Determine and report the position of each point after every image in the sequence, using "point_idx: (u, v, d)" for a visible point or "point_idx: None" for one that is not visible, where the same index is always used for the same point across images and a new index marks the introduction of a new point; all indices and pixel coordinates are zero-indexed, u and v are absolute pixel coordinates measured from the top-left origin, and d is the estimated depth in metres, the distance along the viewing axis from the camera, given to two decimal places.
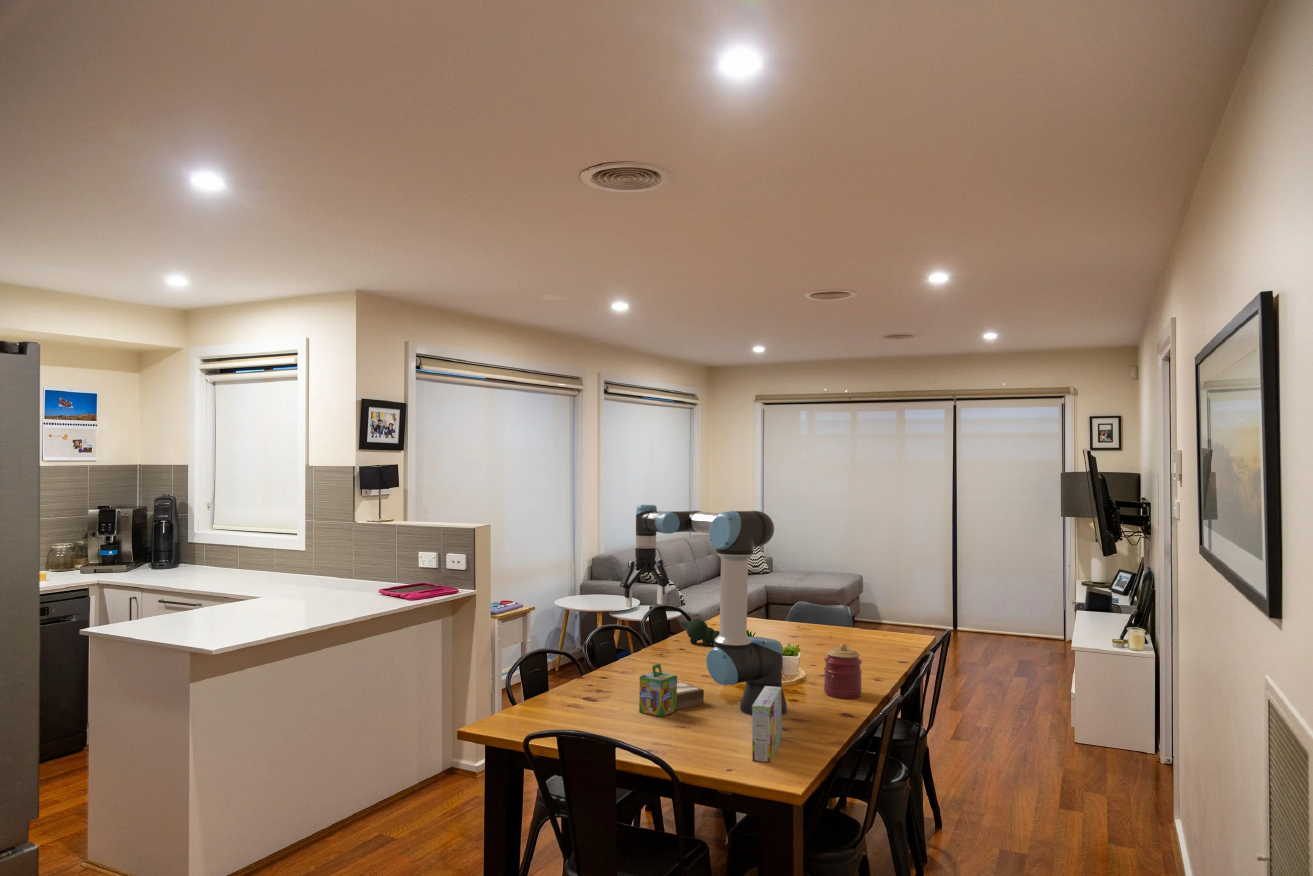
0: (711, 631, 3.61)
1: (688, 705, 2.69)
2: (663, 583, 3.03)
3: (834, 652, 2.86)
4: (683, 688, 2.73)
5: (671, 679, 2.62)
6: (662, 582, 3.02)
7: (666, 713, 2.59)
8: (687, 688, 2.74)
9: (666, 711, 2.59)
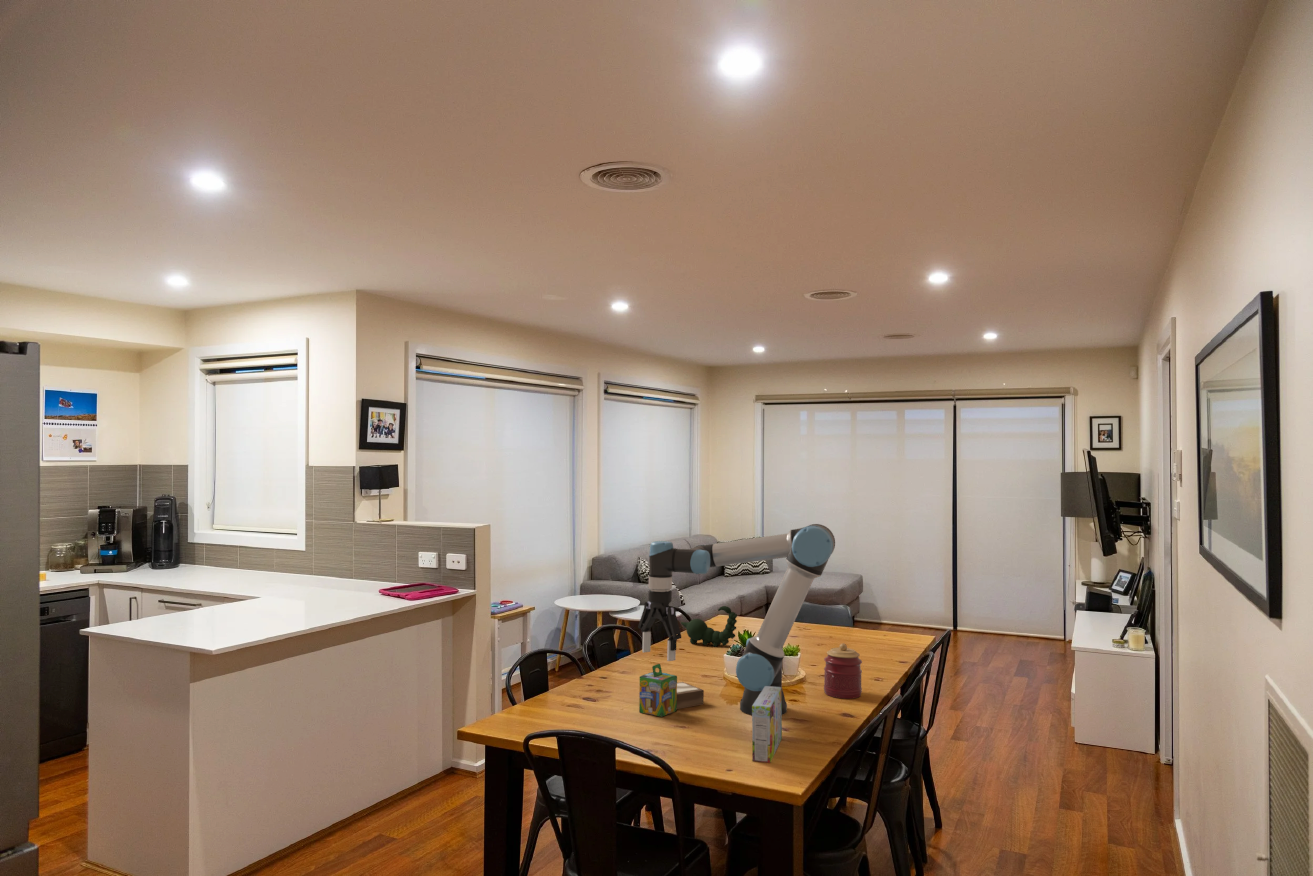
0: (711, 631, 3.61)
1: (687, 705, 2.69)
2: (669, 636, 2.57)
3: (834, 652, 2.86)
4: (683, 688, 2.73)
5: (671, 679, 2.62)
6: (669, 635, 2.58)
7: (666, 713, 2.59)
8: (687, 688, 2.73)
9: (666, 711, 2.59)
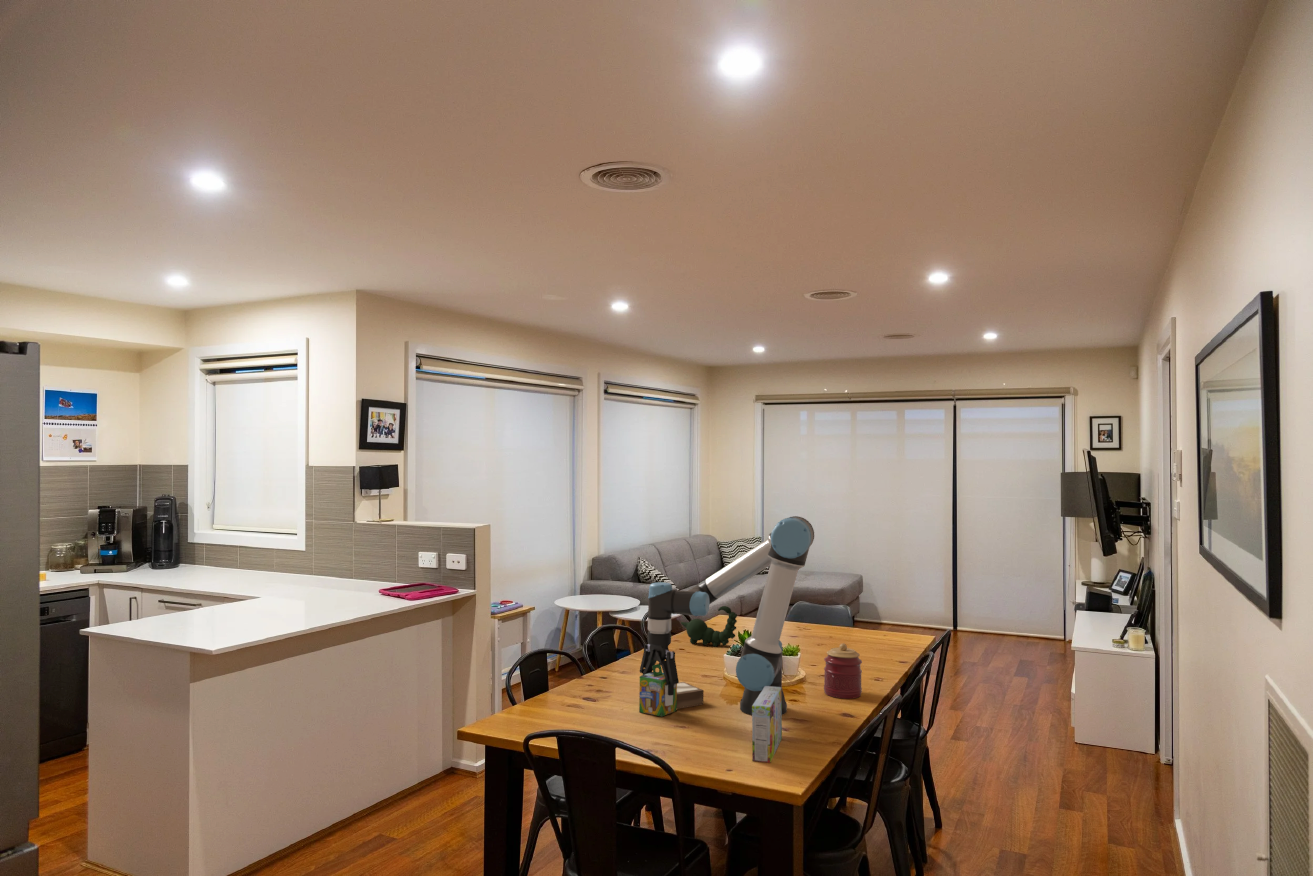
0: (711, 631, 3.61)
1: (687, 705, 2.69)
2: (667, 681, 2.58)
3: (834, 652, 2.86)
4: (683, 688, 2.73)
5: None
6: (666, 679, 2.58)
7: (666, 713, 2.59)
8: (687, 688, 2.73)
9: (666, 711, 2.59)
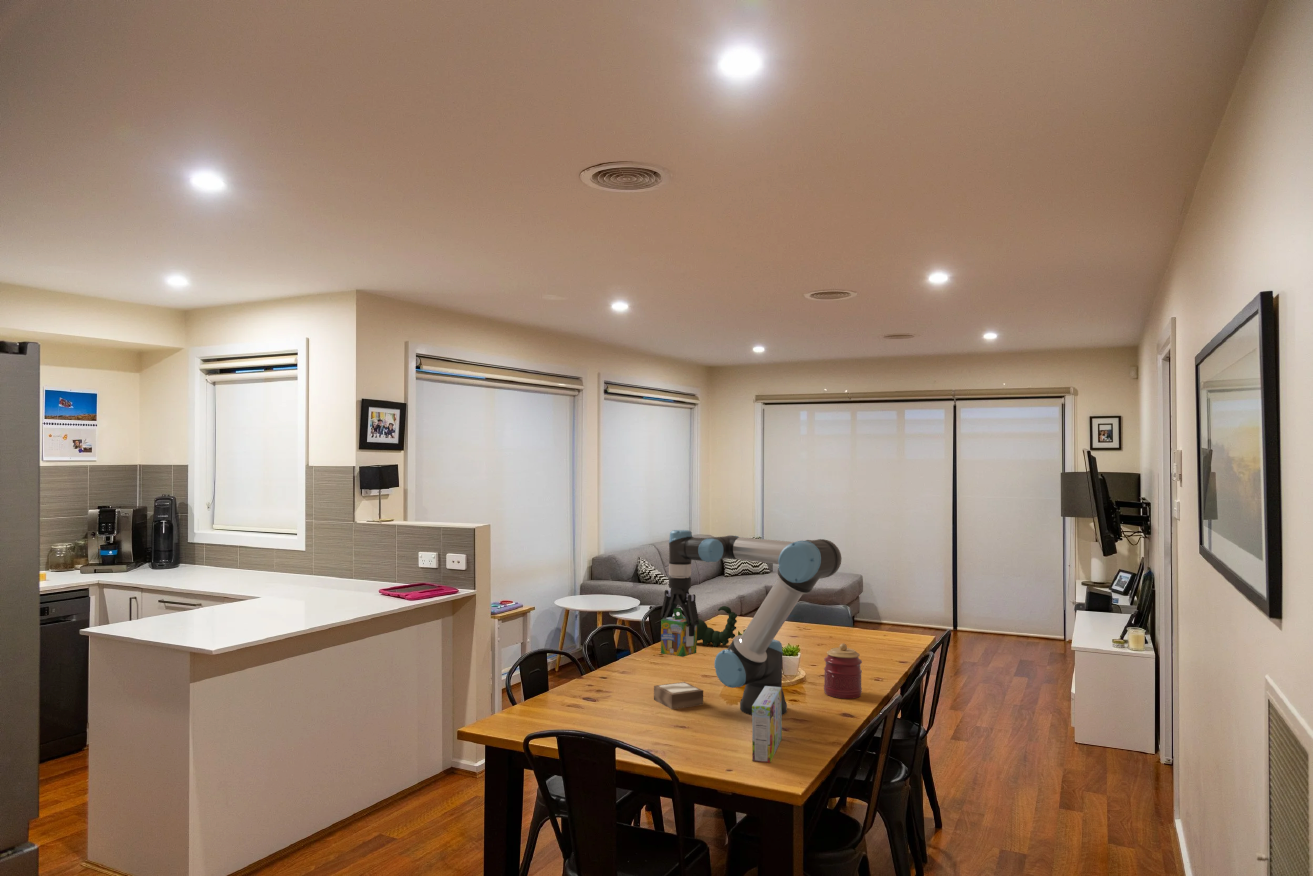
0: (711, 631, 3.61)
1: (686, 705, 2.69)
2: (688, 623, 2.69)
3: (834, 652, 2.86)
4: (683, 688, 2.73)
5: None
6: (687, 621, 2.69)
7: (687, 654, 2.70)
8: (687, 688, 2.73)
9: (687, 652, 2.70)
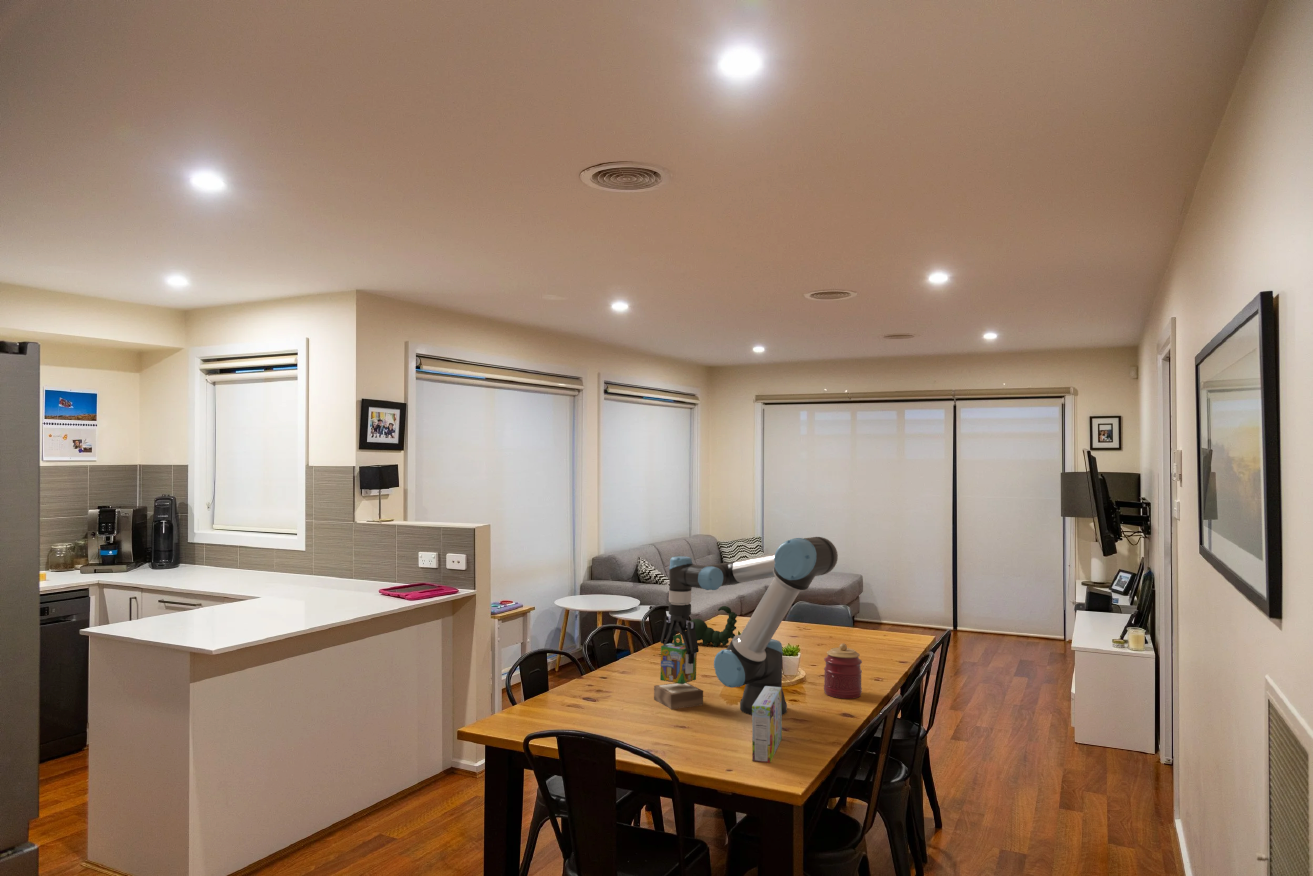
0: (711, 631, 3.61)
1: (686, 705, 2.69)
2: (687, 650, 2.69)
3: (834, 652, 2.86)
4: (683, 688, 2.73)
5: None
6: (687, 648, 2.69)
7: (686, 681, 2.70)
8: (687, 688, 2.73)
9: (686, 679, 2.70)
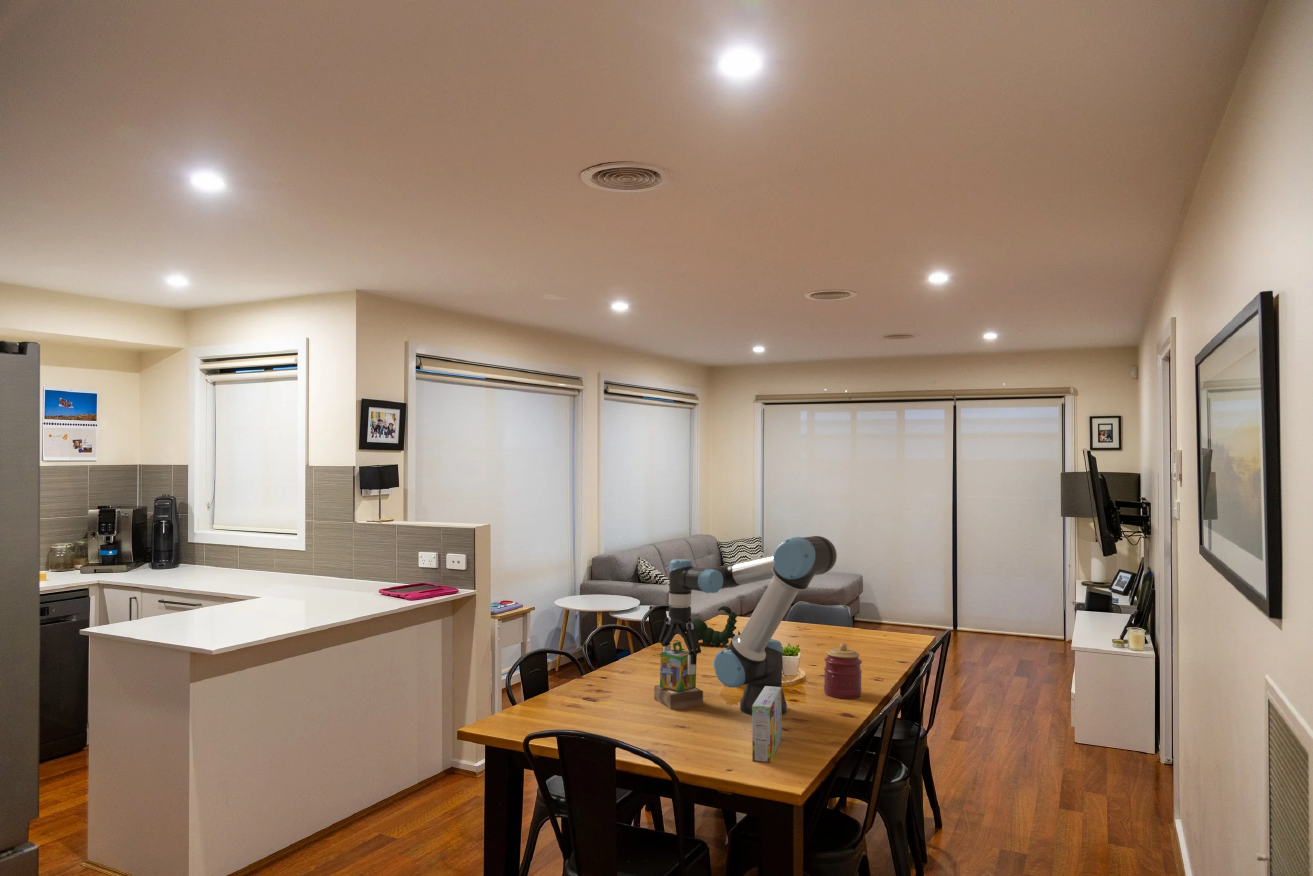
0: (711, 631, 3.61)
1: (686, 706, 2.69)
2: (690, 651, 2.68)
3: (834, 652, 2.86)
4: None
5: None
6: (689, 649, 2.68)
7: (685, 688, 2.70)
8: None
9: (685, 687, 2.70)
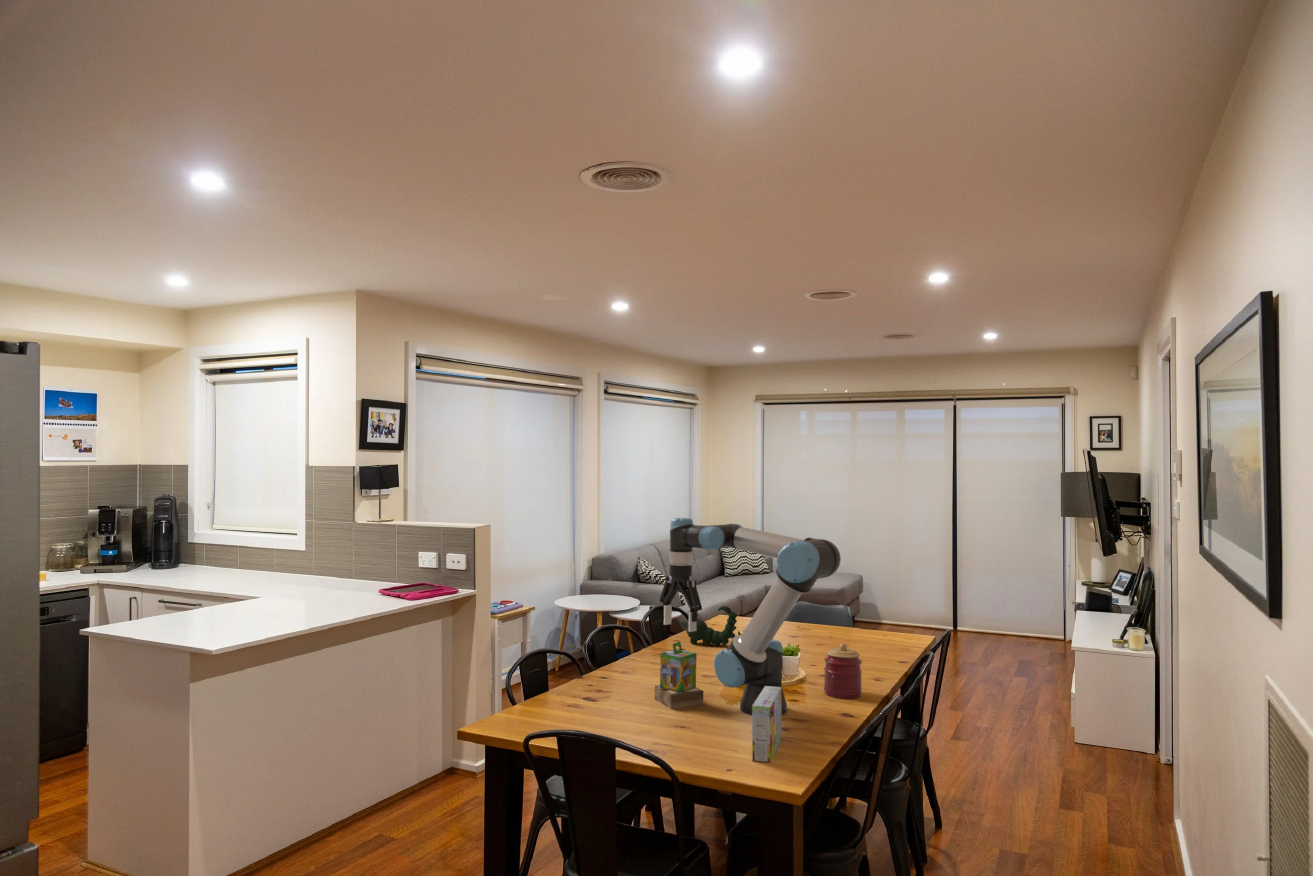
0: (711, 631, 3.61)
1: (686, 706, 2.69)
2: (691, 608, 2.69)
3: (834, 652, 2.86)
4: None
5: (691, 657, 2.73)
6: (690, 606, 2.69)
7: (686, 689, 2.70)
8: None
9: (686, 687, 2.70)
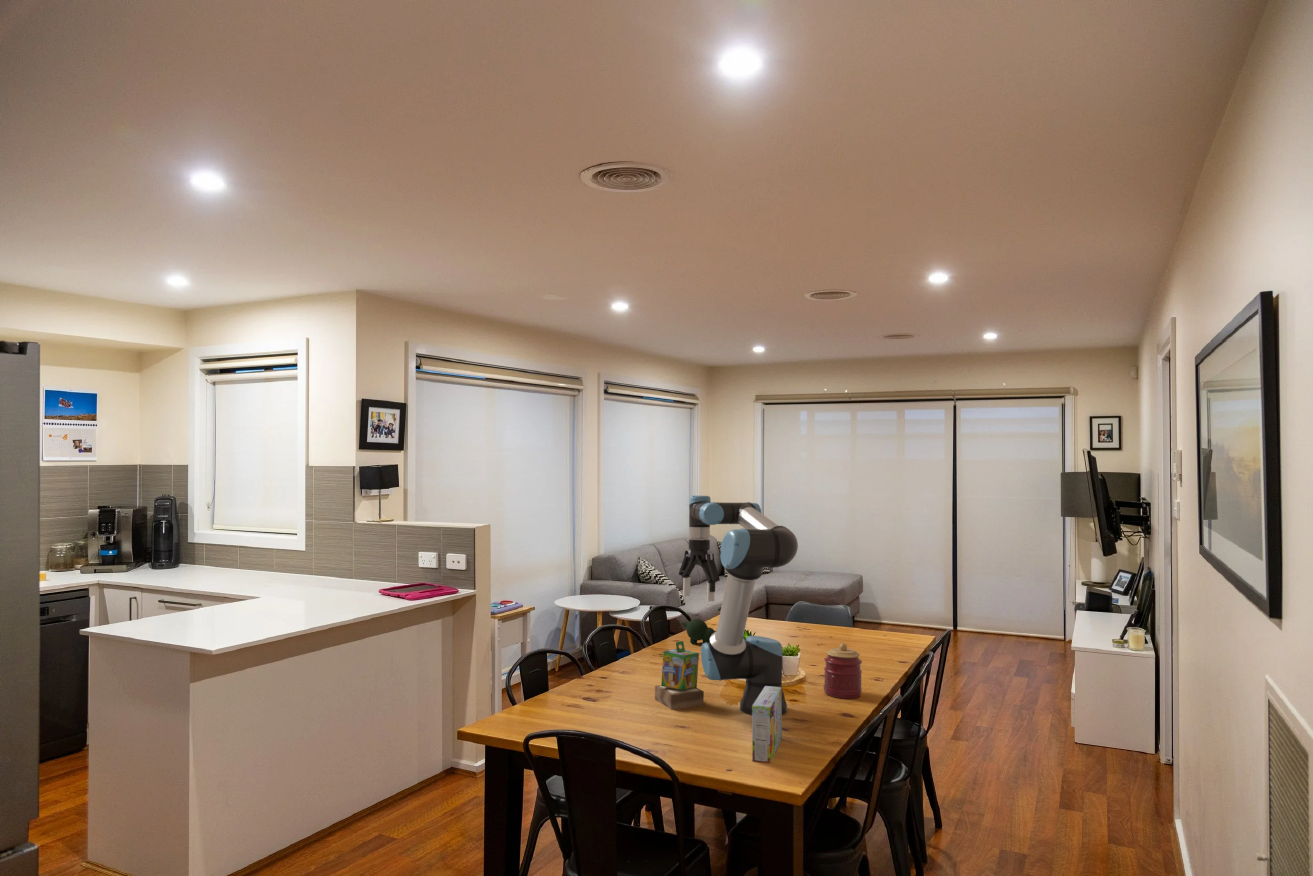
0: (711, 631, 3.61)
1: (686, 706, 2.68)
2: (709, 579, 2.86)
3: (834, 652, 2.86)
4: None
5: (693, 656, 2.73)
6: (708, 578, 2.87)
7: (687, 687, 2.70)
8: (688, 689, 2.73)
9: (687, 686, 2.70)
